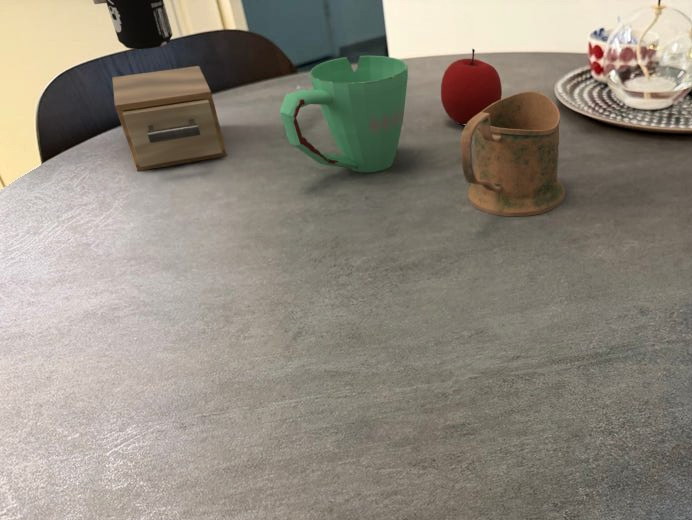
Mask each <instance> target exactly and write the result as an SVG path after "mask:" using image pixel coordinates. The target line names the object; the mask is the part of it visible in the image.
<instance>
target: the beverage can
mask: <svg viewBox="0 0 692 520" xmlns="http://www.w3.org/2000/svg"><path fill="white" fill-rule="evenodd" d="M106 1H107V3H106V6H107V9H108V12H109V15H110V18H111V21H112V25H113V28H114V31H115V33H116V38H117V40H118V42H119V43H121V44H122V45H123V46H124V47H125V48H127V49H131V50H145V49H155V48H160V47H163V46H165V45H168V44H169V43H171V39H172V37H173V31H172V30H173V29H172V26H171V23H170V19H169V16H168V12H167V8H166V4H165V1H164V0H106Z"/></svg>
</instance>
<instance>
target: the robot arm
mask: <svg viewBox="0 0 692 520" xmlns="http://www.w3.org/2000/svg"><path fill="white" fill-rule="evenodd" d="M92 1H93V4H94V5H101V4H107V1H106V0H92Z"/></svg>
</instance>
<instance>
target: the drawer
mask: <svg viewBox="0 0 692 520" xmlns="http://www.w3.org/2000/svg"><path fill="white" fill-rule="evenodd" d="M123 117H124V120H125V123H126V126H127V129H128V132H129V135H130V138H131V141H132V144H133V147H134V150H135V152H136V155H137V158H138V161H139V164H140V167H143V166H148V165H154V164H160V163H166V162H172V161H178V160H183V159H189V158H195V157H201V156H207V155H213V154H218V153H222V150H221V146H220V142H219V138H218V134H217V130H216V127H215V123H214V119H213V115H212V111H211V107H210V103H209V101H208V99H207V100H202V99H199V100H192V101H185V102H179V103H172V104H165V105H158V106H151V107H145V108H138V109H131V110H129V111H125V112H123Z"/></svg>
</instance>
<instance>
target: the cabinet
mask: <svg viewBox="0 0 692 520" xmlns="http://www.w3.org/2000/svg"><path fill="white" fill-rule="evenodd" d="M111 78H112V90H113V100H114V107H115V110H116V113H117V116H118V119H119V122H120V124H121V127H122V128H121V129H122V131H123V133H124V136H125V140H126V142H127V145H128V148H129V152H130V154H131V157H132V160H133V163H134V165H135V169H136V172H141V171H146V170H152V169H158V168H163V167H169V166H176V165H181V164H186V163H192V162H197V161H204V160H209V159H215V158H221V157H226V156H228V153H227V148H226V146H225V145H226V144H225V142H224V137H223V134H222V129H221V126H220V122H219V118H218V114H217V111H216V110H217V109H216V106H215V102H214V98H213V94H212V91H211V89H210V87H209V85H208V82H207V80H206V78H205V75H204V74H203V72H202V70H201V67H200V66H199V65H196V66H195V65H194V66H189V67H180V68H173V69H172V68H171V69H166V70H165V69H164V70H158V71H157V70H156V71H150V72H143V73H135V74H127V75H119V76H113V77H111ZM199 99H202V100H207V99H208V101H209V103H210V107H211V111H212V115H213V119H214V123H215V127H216V130H217V134H218V138H219V142H220V146H221V150H222V153H218V154H213V155H207V156H201V157H195V158H189V159H183V160H178V161H172V162H166V163H160V164H154V165H148V166H143V167H140V164H139V161H138V158H137V155H136V152H135V150H134V147H133V144H132V141H131V138H130V135H129V132H128V129H127V126H126V123H125V120H124V117H123V112H125V111H129V110H131V109H138V108H145V107H151V106H158V105H165V104H172V103H179V102H185V101H192V100H199Z"/></svg>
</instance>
